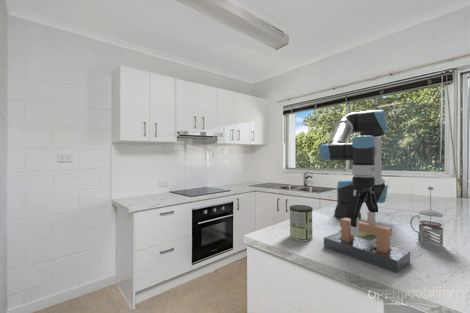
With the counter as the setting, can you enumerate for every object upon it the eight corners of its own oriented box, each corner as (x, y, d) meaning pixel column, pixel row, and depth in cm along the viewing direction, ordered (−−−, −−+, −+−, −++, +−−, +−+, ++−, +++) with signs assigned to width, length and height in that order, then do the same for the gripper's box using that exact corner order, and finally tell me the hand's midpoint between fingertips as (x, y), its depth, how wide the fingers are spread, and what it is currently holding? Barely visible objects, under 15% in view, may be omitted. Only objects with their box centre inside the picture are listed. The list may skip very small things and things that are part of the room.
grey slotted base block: (323, 247, 94) (323, 237, 94) (339, 240, 101) (339, 231, 101) (397, 273, 73) (397, 260, 73) (410, 262, 80) (410, 251, 80)
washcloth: (336, 234, 111) (336, 228, 111) (356, 228, 120) (356, 222, 120) (364, 243, 100) (364, 235, 100) (383, 235, 109) (383, 229, 109)
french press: (449, 252, 89) (449, 188, 89) (412, 246, 95) (411, 186, 95) (443, 244, 97) (443, 186, 97) (409, 239, 103) (409, 184, 103)
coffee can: (290, 232, 112) (290, 204, 112) (312, 235, 109) (312, 205, 109) (288, 239, 102) (288, 208, 102) (312, 242, 99) (312, 210, 99)
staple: (340, 248, 93) (340, 219, 93) (345, 246, 95) (345, 217, 95) (387, 264, 79) (387, 229, 79) (391, 261, 81) (391, 227, 81)
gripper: (357, 178, 77) (357, 241, 77) (387, 175, 92) (387, 228, 91) (336, 177, 83) (336, 235, 83) (367, 174, 98) (367, 223, 97)
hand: (363, 231), depth 87 cm, fingers open, 13 cm apart
